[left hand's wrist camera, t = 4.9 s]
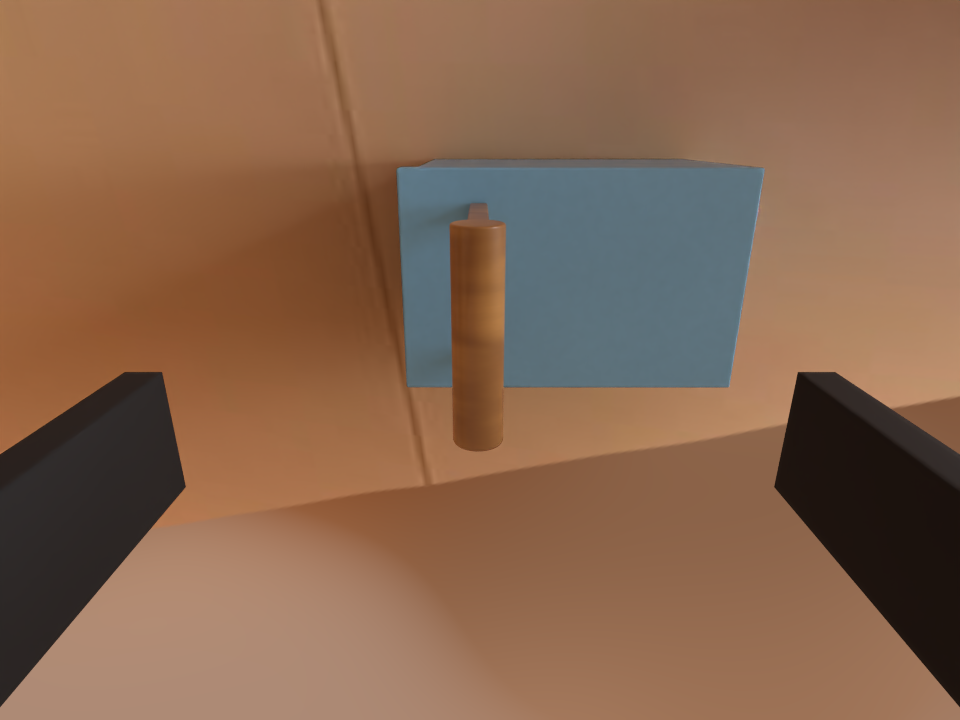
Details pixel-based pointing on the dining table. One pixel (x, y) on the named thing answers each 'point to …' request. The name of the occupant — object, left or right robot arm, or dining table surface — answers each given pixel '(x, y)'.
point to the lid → (570, 280)
